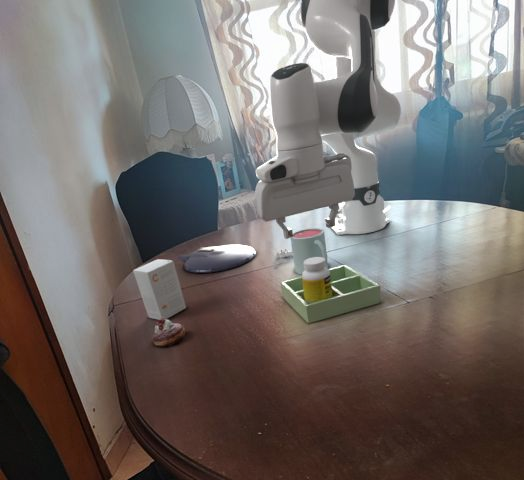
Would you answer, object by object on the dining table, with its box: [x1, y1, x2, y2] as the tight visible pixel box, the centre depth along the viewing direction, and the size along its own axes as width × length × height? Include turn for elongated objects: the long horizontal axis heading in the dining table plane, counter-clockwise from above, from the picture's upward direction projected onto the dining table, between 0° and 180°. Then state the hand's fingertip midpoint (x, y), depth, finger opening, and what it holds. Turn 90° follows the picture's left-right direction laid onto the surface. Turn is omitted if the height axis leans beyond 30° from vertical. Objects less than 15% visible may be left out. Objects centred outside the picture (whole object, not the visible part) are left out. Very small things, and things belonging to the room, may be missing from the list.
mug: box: [289, 227, 329, 275], centre depth 125 cm, size 14×9×10 cm
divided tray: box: [280, 264, 382, 324], centre depth 108 cm, size 17×17×4 cm
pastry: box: [152, 317, 186, 347], centre depth 104 cm, size 8×8×5 cm
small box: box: [132, 258, 187, 321], centre depth 116 cm, size 8×6×13 cm
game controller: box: [275, 248, 293, 268], centre depth 139 cm, size 6×12×3 cm, turn 176°
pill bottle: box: [301, 257, 333, 304], centre depth 102 cm, size 6×6×11 cm
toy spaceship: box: [177, 244, 257, 274], centre depth 152 cm, size 28×24×3 cm
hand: (309, 232), depth 96 cm, fingers open, 8 cm apart
